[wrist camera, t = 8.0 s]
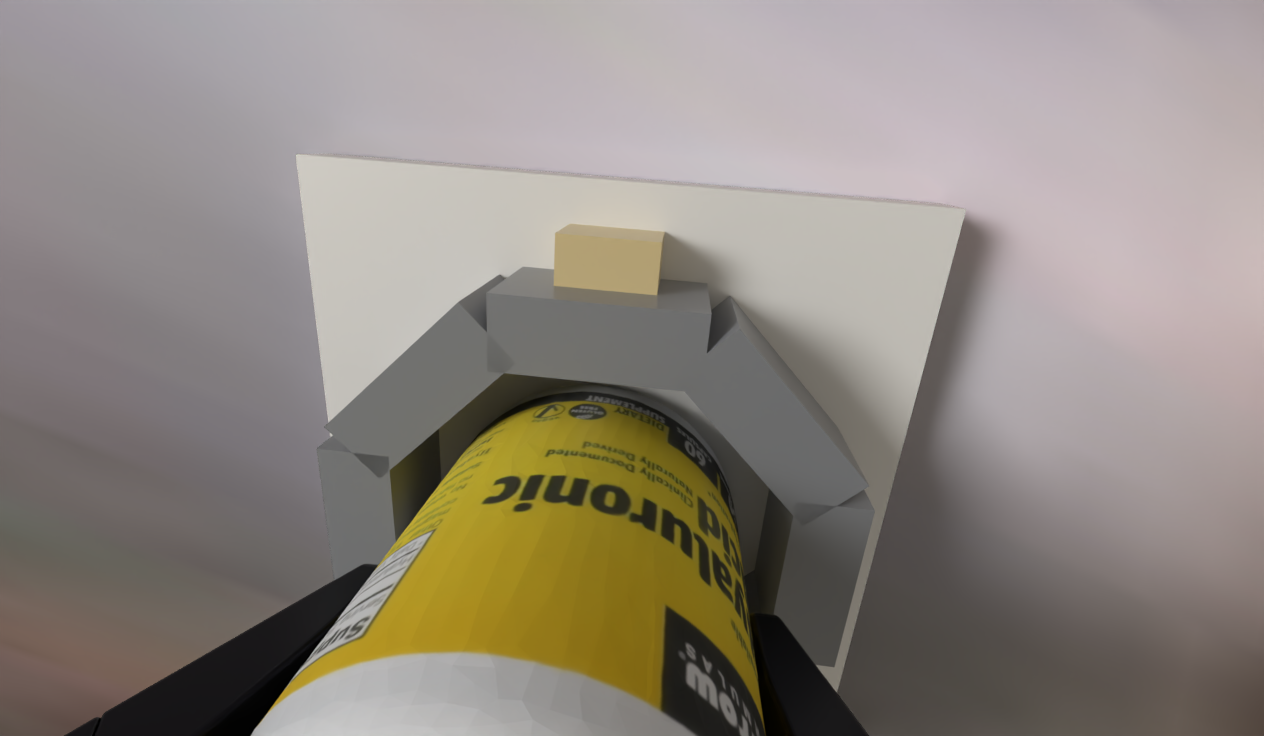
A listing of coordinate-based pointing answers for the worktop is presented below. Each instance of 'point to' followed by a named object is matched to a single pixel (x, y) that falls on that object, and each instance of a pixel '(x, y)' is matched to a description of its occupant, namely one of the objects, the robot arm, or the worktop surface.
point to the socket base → (628, 345)
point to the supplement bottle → (550, 591)
